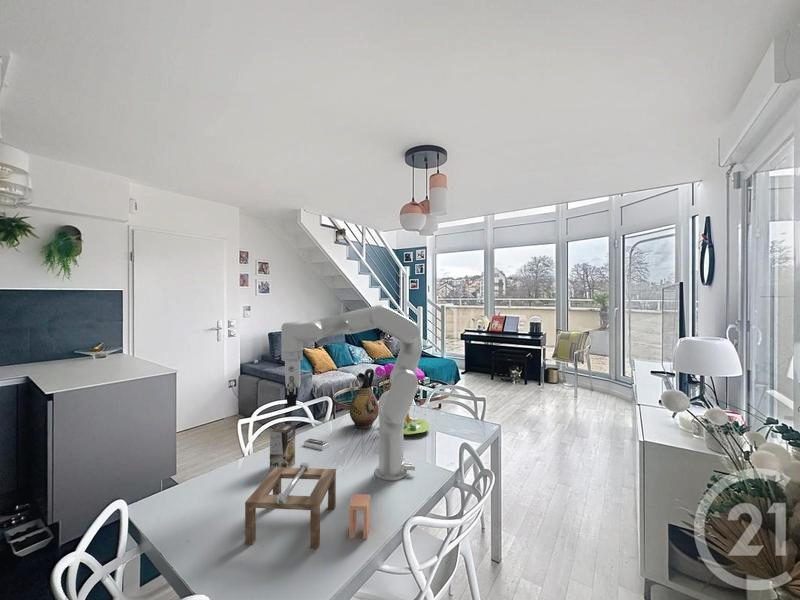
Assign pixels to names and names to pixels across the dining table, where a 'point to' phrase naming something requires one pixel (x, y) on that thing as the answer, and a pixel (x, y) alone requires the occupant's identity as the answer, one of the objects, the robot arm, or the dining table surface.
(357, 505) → the slotted peach block
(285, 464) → the coffee box
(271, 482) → the open wooden frame
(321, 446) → the multiport hub
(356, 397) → the ceramic jug
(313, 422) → the dining table surface
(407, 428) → the flower ornament
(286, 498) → the metal guide rod
